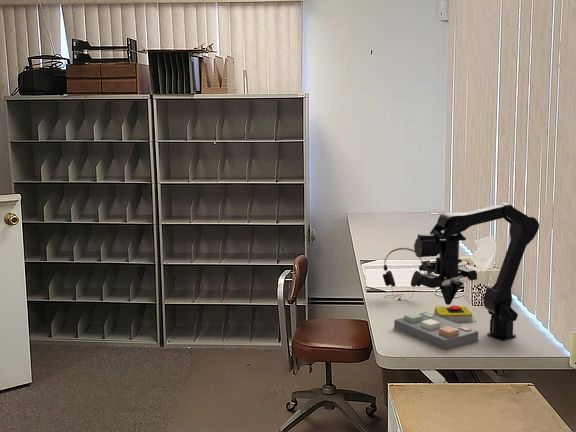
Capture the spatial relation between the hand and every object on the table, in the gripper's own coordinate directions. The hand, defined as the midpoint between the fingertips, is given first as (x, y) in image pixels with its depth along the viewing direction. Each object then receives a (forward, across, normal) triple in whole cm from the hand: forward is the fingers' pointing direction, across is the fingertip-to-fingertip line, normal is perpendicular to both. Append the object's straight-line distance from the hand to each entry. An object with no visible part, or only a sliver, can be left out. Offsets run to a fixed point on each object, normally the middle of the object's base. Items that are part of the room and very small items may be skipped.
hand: (447, 304), depth 204 cm
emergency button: (+13, -17, -16) cm, 27 cm away
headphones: (+12, -17, -43) cm, 47 cm away
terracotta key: (+9, 0, +1) cm, 10 cm away
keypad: (+12, -1, -7) cm, 14 cm away
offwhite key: (+10, +1, -7) cm, 12 cm away
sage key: (+9, +1, -15) cm, 18 cm away
